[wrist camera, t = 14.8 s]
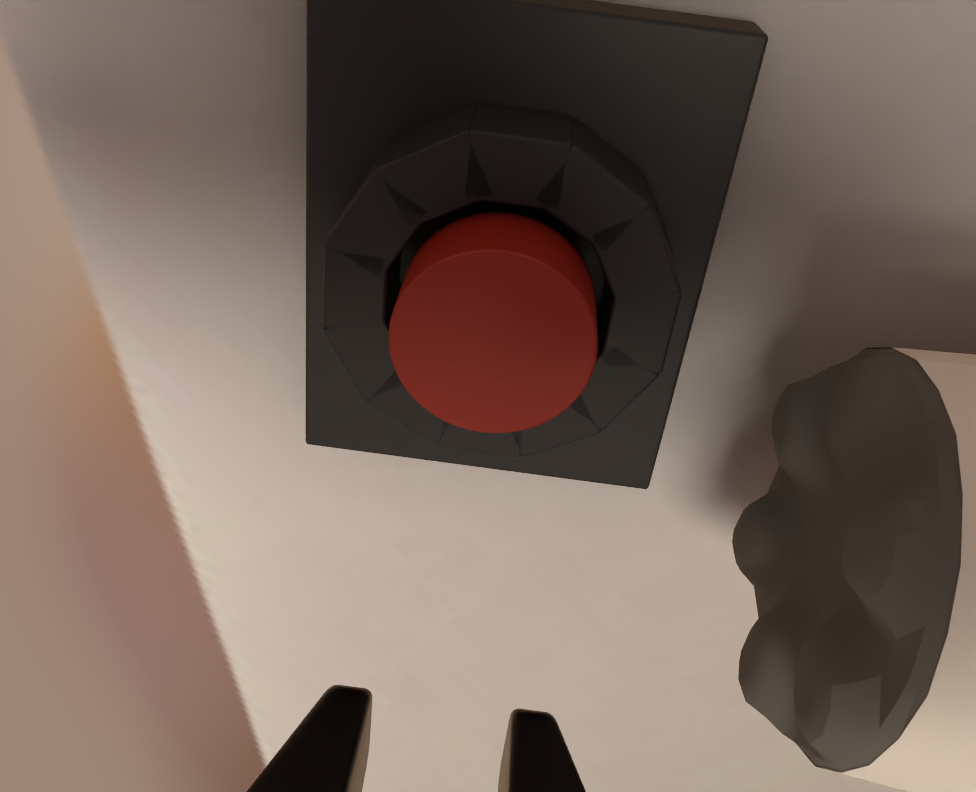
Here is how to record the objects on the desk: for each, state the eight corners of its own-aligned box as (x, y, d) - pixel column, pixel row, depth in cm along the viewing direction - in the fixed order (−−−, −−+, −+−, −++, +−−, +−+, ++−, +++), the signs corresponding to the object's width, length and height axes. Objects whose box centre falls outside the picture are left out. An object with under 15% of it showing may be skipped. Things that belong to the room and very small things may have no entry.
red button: (409, 198, 16) (393, 236, 14) (611, 225, 16) (616, 266, 14) (397, 371, 18) (382, 420, 16) (577, 394, 18) (579, 447, 16)
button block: (321, -36, 16) (277, -11, 14) (757, 22, 16) (792, 58, 14) (316, 416, 22) (284, 493, 19) (644, 460, 22) (655, 543, 19)
